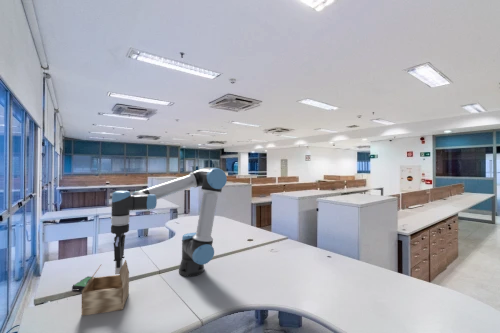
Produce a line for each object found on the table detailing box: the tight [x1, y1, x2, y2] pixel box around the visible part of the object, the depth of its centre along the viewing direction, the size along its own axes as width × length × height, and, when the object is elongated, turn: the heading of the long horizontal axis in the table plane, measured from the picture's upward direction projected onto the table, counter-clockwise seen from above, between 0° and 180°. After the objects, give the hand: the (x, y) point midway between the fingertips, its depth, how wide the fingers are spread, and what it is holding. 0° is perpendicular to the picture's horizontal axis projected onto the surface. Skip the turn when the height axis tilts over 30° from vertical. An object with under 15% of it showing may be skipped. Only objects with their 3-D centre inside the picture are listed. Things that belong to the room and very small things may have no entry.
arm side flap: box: [118, 259, 130, 287], centre depth 114 cm, size 1×14×7 cm, turn 18°
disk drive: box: [71, 276, 95, 292], centre depth 127 cm, size 10×3×15 cm
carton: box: [81, 274, 130, 317], centre depth 112 cm, size 16×15×10 cm
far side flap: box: [81, 264, 103, 293], centre depth 110 cm, size 1×14×7 cm
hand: (118, 273), depth 113 cm, fingers closed
